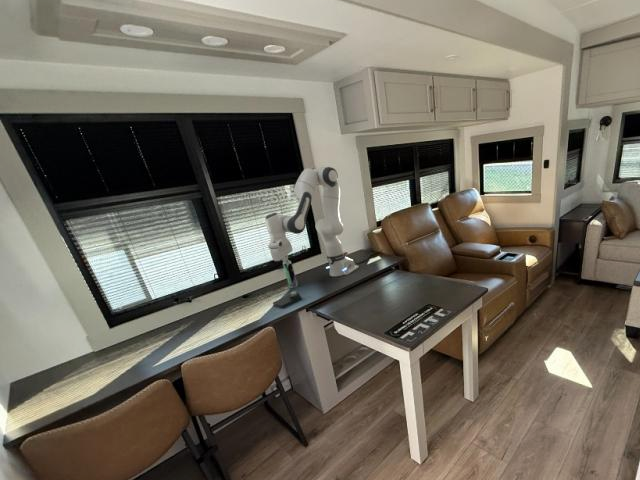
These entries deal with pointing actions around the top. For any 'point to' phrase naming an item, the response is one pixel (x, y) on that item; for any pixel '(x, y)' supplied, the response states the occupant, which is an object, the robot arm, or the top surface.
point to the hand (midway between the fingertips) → (286, 263)
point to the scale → (287, 301)
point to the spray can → (290, 274)
